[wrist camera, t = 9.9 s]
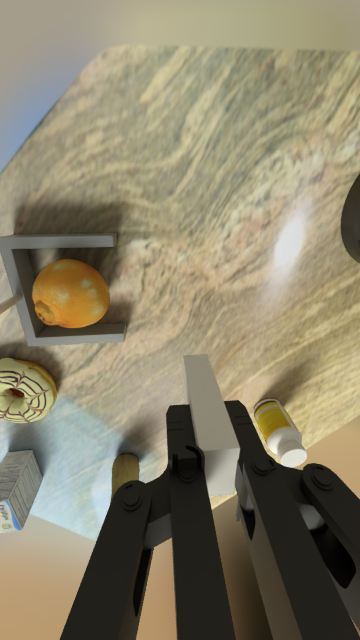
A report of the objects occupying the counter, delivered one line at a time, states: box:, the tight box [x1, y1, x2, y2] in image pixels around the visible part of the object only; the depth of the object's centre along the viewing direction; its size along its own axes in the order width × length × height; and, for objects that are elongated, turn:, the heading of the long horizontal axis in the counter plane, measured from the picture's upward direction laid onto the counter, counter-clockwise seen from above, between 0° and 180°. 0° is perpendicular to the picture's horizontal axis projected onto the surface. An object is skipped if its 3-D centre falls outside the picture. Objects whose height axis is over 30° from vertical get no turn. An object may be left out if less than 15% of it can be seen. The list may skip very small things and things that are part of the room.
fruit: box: [32, 259, 110, 328], centre depth 29 cm, size 8×8×8 cm
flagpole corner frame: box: [0, 233, 127, 347], centre depth 22 cm, size 18×13×24 cm
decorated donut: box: [0, 358, 57, 423], centre depth 37 cm, size 10×11×4 cm
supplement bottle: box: [253, 399, 307, 467], centre depth 41 cm, size 5×5×10 cm
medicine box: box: [0, 450, 43, 533], centre depth 41 cm, size 8×4×9 cm, turn 0°
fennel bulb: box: [110, 453, 140, 504], centre depth 42 cm, size 6×5×12 cm
